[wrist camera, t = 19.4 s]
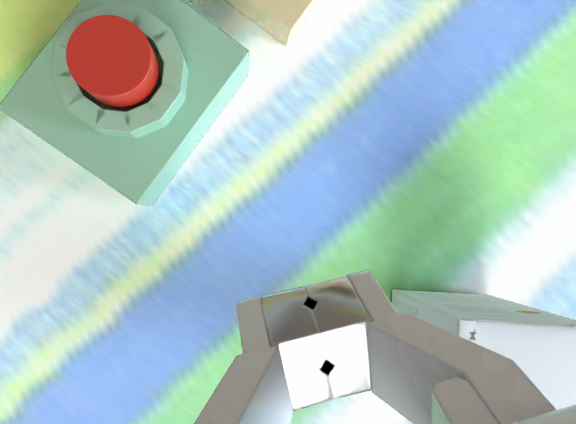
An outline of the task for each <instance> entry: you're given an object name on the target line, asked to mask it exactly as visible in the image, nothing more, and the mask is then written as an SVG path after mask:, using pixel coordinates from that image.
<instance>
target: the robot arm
mask: <svg viewBox="0 0 576 424" xmlns="http://www.w3.org/2000/svg"><path fill="white" fill-rule="evenodd" d="M260 300H261V302H260ZM261 305H262V306H261ZM236 308H237V315H238V322H239V329H240V336H241V343H242V350H243V354H241V355H237V356H236V357H235V359H234V360H233V362H232V363H231V365H230V367H229V368H228V370H227V371H226V373H225V375H224V376H223V378H222V379H221V381H220V383H219V384H218V386H217V387H216V389H215V391H214V392H213V394H212V396H211V397H210V399H209V400H208V402H207V404H206V405H205V407H204V408H203V410H202V412H201V413H200V415H199V416H198V418H197V420H196V421H195V423H194V424H290V422H291V419H292V416H293V411H296V410H299V409H302V408H306V407H309V406H312V405H316V404H319V403H322V402H325V401H329V400H332V399H336V398H340V397H345V396H349V395H353V394H357V393H361V392H365V391H369V390H372V392H373V393H374V394H375V395H377V396H378V397H379V398H381V399H382V400H383V401H384V402H386V403H387V404H388V405H390V406H391V407H392V408H394V409H395V410H396V411H398V412H399V413H400V414H401V415H403V416H404V417H405V418H407V419H408V420H409V421H411V422H412V423H413V424H576V405H572V406H569V407H565V408H562V409H558V410H556V409H555V407H554V406H553V405H552V404H551V403H550V402H549V401H548V399H547V398H546V397H545V396H544V395H543V394H542V393H541V391H540V390H539V389H538V388H537V387H536V386H535V385H534V383H533V382H532V381H531V380H530V379H529V378H528V377H527V375H526V374H525V373H524V372H523V371H522V370H521V369H520V367H519V366H518V365H517V364H516V363H515V362H514V361H513V360H512V359H510V358H507V357H505V356H503V355H500V354H498V353H496V352H494V351H491V350H489V349H487V348H484V347H482V346H480V345H478V344H475V343H473V342H471V341H469V340H466V339H464V338H462V337H459V336H457V335H455V334H453V333H450V332H448V331H446V330H444V329H441V328H439V327H437V326H434V325H432V324H430V323H428V322H425V321H423V320H421V319H419V318H416V317H414V316H412V315H409V314H407V313H401V314H398V313H397V311H396V310H395V308H394V307H393V305H392V303H391V302H390V300H389V299H388V297H387V296H386V294H385V293H384V291H383V290H382V288H381V287H380V285H379V284H378V282H377V281H376V279H375V277H374V276H373V274H372V273H371V271H369V270H364V271H360V272H356V273H353V274H349V275H346V276H345V277H340V278H336V279H332V280H328V281H324V282H320V283H316V284H312V285H308V286H303V287H298V288H294V289H289V290H285V291H280V292H276V293H271V294H267V295H262V296H260V298H259V297H254V298H250V299H245V300H241V301H237V303H236ZM262 309H263V311H262ZM263 314H264V315H263ZM264 318H265V319H264ZM266 327H267V328H266Z"/></svg>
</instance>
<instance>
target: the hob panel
mask: <svg viewBox="0 0 576 424" xmlns="http://www.w3.org/2000/svg"><path fill="white" fill-rule="evenodd" d="M225 1H227V2H228V3H229V4H231V5H232V6H233V7H235V8H236V9H237V10H239V11H240V12H241V13H243V14H244V15H245V16H247V17H248V18H249V19H251V20H252V21H253V22H255V23H256V24H257V25H258V26H260V27H261V28H262V29H264V30H265V31H266V32H268V33H269V34H270V35H272V36H273V37H274V38H276V39H277V40H278V41H280V42H281V43H282V44H284V45H285V46H287V45H288V44H289V42H290V41H291V39H292V38H293V37H294V35H295V34H296V33H297V31H298V30H299V29H300V27H301V26H302V24H303V23H304V22H305V20H306V19H307V18H308V16H309V15H310V13H311V12H312V11H313V9H314V8H315V7H316V5H317V4H318V3H319V1H320V0H225Z"/></svg>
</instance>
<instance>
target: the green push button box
mask: <svg viewBox="0 0 576 424" xmlns="http://www.w3.org/2000/svg"><path fill="white" fill-rule="evenodd" d="M100 15H115V16H119V17H122V18H125V19H127V20H129V21H131V22H132V23H134V24H135V25H136V26H138V27H139V28H140V29H141V30H142V32H143V33H144V34H145V36H146V38H147V39H148V41H149V43H150V45H151V47H152V49H153V51H154V53H155V55H156V58H157V61H158V65H159V76H158V81H157V84H156V86H155V88H154V90H153V91H152V93H151V94H150V95H149V96H148V97H147V98H146V99H145V100H143V101H142V102H140V103H138V104H136V105H133V106H129V107H113V106H109V105H106V104H104V103H102V102H100V101H98V100H97V99H96V98H94V97H93V96H92V95H91V94H89V93H88V92H87V91H86V90H85V89H83V88H82V87H81V86H80V85H79V84H78V83H77V82H76V81H75V80H74V78H73V77H72V75H71V73H70V71H69V69H68V65H67V61H66V49H67V44H68V41H69V38H70V36H71V34H72V33H73V32H74V30H75V29H76V28H77V27H78V26H79V25H80V24H81V23H83V22H84V21H86V20H88V19H90V18H92V17H95V16H100ZM248 66H249V50H247V49H246V48H245V47H243V46H242V45H241V44H239V43H238V42H237V41H235V40H234V39H233V38H231V37H230V36H229V35H227V34H226V33H225V32H223V31H222V30H221V29H219V28H218V27H216V26H215V25H214V24H212V23H211V22H210V21H208V20H207V19H206V18H204V17H203V16H202V15H200V14H199V13H198V12H196V11H195V10H194V9H192V8H191V7H190V6H188V5H187V4H186V3H184V2H183V1H182V0H81V1H80V2H79V3H78V5H77V6H76V7H75V8H74V10H73V11H72V12H71V14H70V15H69V16H68V17H67V19H66V20H65V21H64V22H63V24H62V25H61V26H60V28H59V29H58V30H57V31H56V33H55V34H54V35H53V37H52V38H51V39H50V40H49V42H48V43H47V44H46V46H45V47H44V48H43V49H42V51H41V52H40V53H39V54H38V56H37V57H36V58H35V60H34V61H33V62H32V63H31V65H30V66H29V67H28V69H27V70H26V71H25V72H24V74H23V75H22V76H21V78H20V79H19V80H18V81H17V83H16V84H15V85H14V87H13V88H12V89H11V90H10V92H9V93H8V94H7V95H6V97H5V98H4V99H3V101H2V102H1V103H0V110H1V111H3V112H4V113H6V114H7V115H9V116H10V117H11V118H13V119H14V120H16V121H17V122H19V123H20V124H21V125H23V126H24V127H26V128H27V129H29V130H30V131H32V132H33V133H34V134H36V135H37V136H39V137H40V138H42V139H43V140H45V141H46V142H47V143H49V144H50V145H52V146H53V147H55V148H56V149H58V150H59V151H60V152H62V153H63V154H65V155H66V156H68V157H69V158H70V159H72V160H73V161H75V162H76V163H78V164H79V165H81V166H82V167H83V168H85V169H86V170H88V171H89V172H91V173H92V174H94V175H95V176H96V177H98V178H99V179H101V180H102V181H104V182H105V183H107V184H108V185H109V186H111V187H112V188H114V189H115V190H117V191H118V192H119V193H121V194H122V195H124V196H125V197H127V198H128V199H130V200H131V201H132V202H134V203H135V204H140V205H148V206H153V204H154V203H155V202H156V200H157V199H158V198H159V196H160V195H161V193H162V192H163V191H164V189H165V188H166V187H167V185H168V184H169V183H170V181H171V180H172V178H173V177H174V176H175V174H176V173H177V172H178V170H179V169H180V168H181V166H182V165H183V164H184V162H185V161H186V159H187V158H188V157H189V155H190V154H191V153H192V151H193V150H194V149H195V147H196V146H197V144H198V143H199V142H200V140H201V139H202V138H203V136H204V135H205V134H206V132H207V131H208V129H209V128H210V127H211V125H212V124H213V123H214V121H215V120H216V119H217V117H218V116H219V115H220V113H221V112H222V110H223V109H224V108H225V106H226V105H227V104H228V102H229V101H230V100H231V98H232V97H233V95H234V94H235V93H236V91H237V90H238V89H239V87H240V86H241V85H242V83H243V82H244V81H245V79H246V78H247V76H248Z"/></svg>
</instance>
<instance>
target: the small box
mask: <svg viewBox="0 0 576 424" xmlns="http://www.w3.org/2000/svg"><path fill="white" fill-rule="evenodd" d="M392 305H393V307H394V308H395V310H396V311H397V313H398V314H401V313H407V314H409V315H412V316H414V317H416V318H419V319H421V320H423V321H425V322H428V323H430V324H432V325H434V326H437V327H439V328H441V329H444V330H446V331H448V332H450V333H453V334H455V335H457V336H459V337H462V338H464V339H466V340H469V341H471V342H473V343H475V344H478V345H480V346H482V347H484V348H487V349H489V350H491V351H494V352H496V353H498V354H500V355H503V356H505V357H507V358H510V359H512V360H513V361H514V362H515V363H516V364H517V365H518V366H519V367H520V369H521V370H522V371H523V372H524V373H525V374H526V375H527V377H528V378H529V379H530V380H531V381H532V382H533V383H534V385H535V386H536V387H537V388H538V389H539V390H540V391H541V393H542V394H543V395H544V396H545V397H546V398H547V399H548V401H549V402H550V403H551V404H552V405H553V406H554V407H555V409H556V410H558V409H562V408H565V407H569V406H572V405H576V320H573V319H569V318H566V317H562V316H559V315H555V314H552V313H549V312H545V311H542V310H538V309H535V308H531V307H528V306H525V305H521V304H518V303H514V302H511V301H507V300H504V299H501V298H497V297H494V296H490V295H487V294H466V293H447V292H429V291H409V290H395V289H394V290H393V291H392Z"/></svg>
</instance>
